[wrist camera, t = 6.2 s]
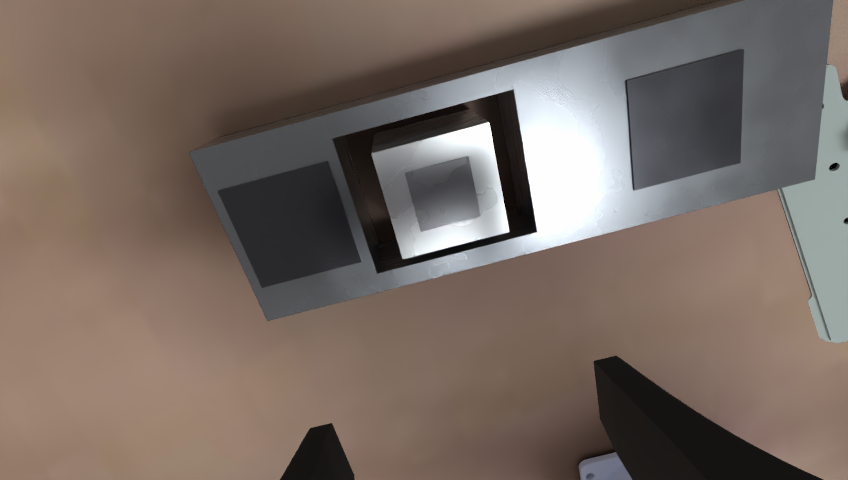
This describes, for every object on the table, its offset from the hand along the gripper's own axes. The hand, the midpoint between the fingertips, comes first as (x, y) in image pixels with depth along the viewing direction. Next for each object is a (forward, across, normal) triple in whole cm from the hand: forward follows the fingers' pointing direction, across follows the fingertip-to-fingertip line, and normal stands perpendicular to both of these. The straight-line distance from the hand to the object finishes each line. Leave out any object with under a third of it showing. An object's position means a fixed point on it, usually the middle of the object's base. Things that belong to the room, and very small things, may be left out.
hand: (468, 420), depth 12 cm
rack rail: (+10, -4, -5) cm, 11 cm away
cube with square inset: (+10, -1, -5) cm, 11 cm away
